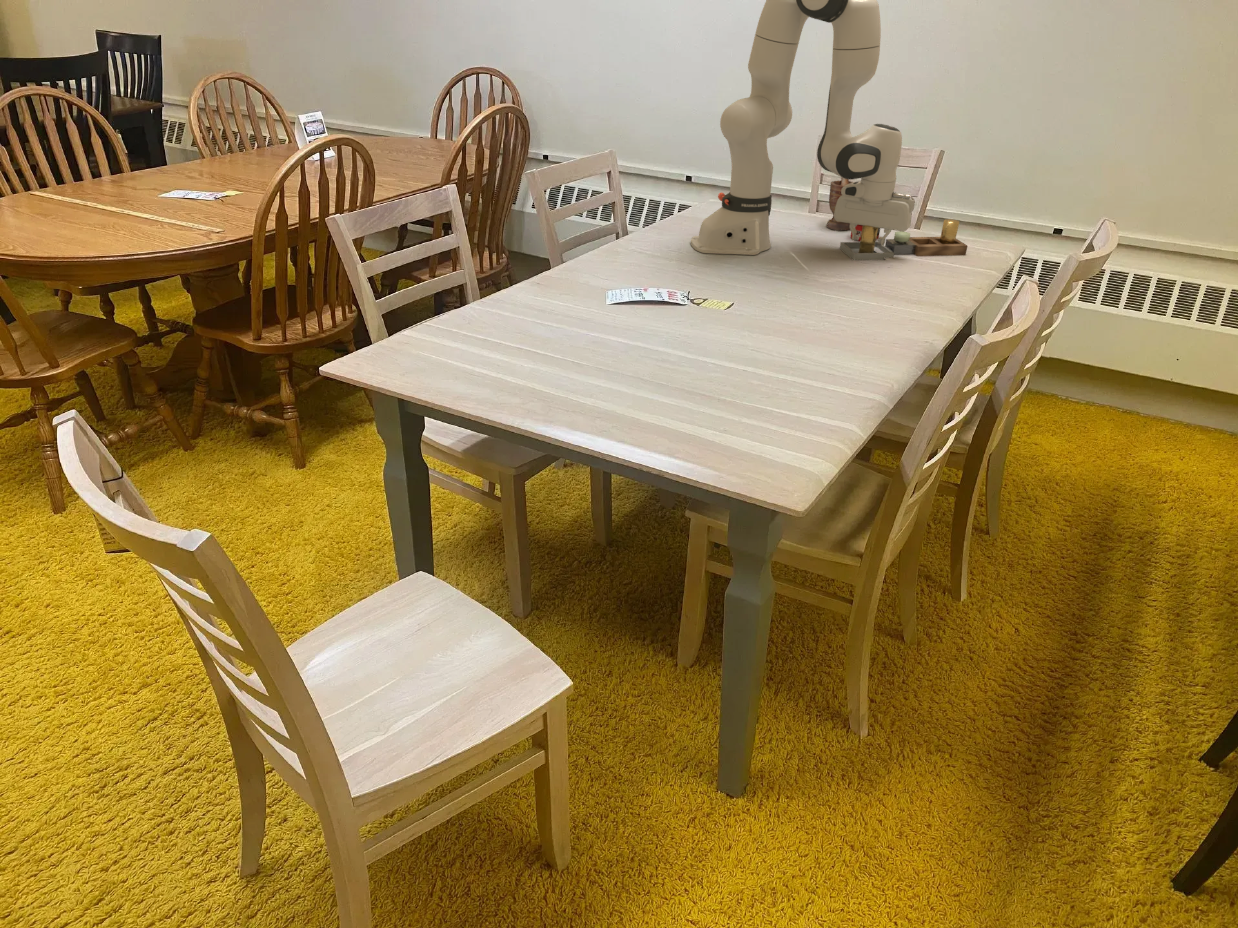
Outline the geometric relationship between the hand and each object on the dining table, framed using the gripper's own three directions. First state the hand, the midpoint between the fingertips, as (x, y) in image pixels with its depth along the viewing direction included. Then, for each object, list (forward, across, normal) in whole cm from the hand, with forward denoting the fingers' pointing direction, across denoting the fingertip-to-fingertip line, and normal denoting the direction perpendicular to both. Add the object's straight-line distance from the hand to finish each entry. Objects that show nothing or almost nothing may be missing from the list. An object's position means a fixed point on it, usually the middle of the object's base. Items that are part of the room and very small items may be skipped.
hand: (867, 242), depth 227 cm
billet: (+3, 0, 0) cm, 3 cm away
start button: (+3, -7, -6) cm, 10 cm away
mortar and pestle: (+4, +17, -24) cm, 30 cm away
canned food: (+4, +5, -15) cm, 16 cm away
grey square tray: (+4, 0, 0) cm, 4 cm away
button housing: (+4, -7, -6) cm, 10 cm away
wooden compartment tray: (+4, -15, -12) cm, 20 cm away
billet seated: (+3, -18, -14) cm, 23 cm away
